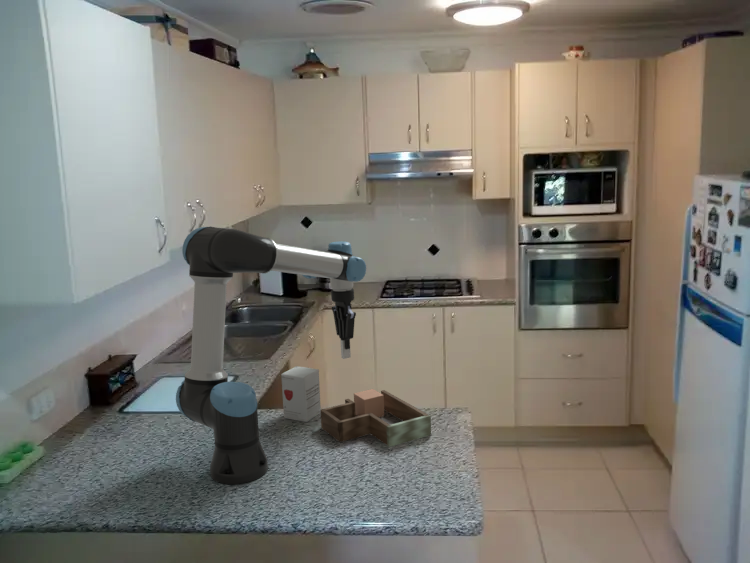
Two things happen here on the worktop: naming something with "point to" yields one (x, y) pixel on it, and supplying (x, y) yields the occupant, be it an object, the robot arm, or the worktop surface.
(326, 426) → the frame
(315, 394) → the supplement box
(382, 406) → the block
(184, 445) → the worktop surface
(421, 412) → the low walled maze tray
